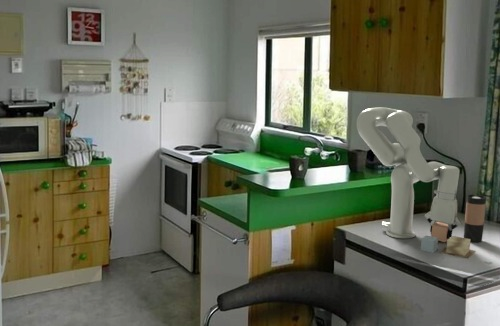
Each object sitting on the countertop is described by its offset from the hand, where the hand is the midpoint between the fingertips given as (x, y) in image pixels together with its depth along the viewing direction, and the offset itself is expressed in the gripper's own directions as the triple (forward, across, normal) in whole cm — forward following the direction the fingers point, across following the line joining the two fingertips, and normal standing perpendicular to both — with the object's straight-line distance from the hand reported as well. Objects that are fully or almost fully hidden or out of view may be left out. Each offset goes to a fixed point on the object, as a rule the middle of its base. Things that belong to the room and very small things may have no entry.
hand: (440, 235), depth 243 cm
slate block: (+3, 0, -14) cm, 14 cm away
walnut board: (+3, +10, -9) cm, 14 cm away
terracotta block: (+1, 0, 0) cm, 1 cm away
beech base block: (+1, +10, -9) cm, 14 cm away
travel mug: (+3, +11, +10) cm, 15 cm away
